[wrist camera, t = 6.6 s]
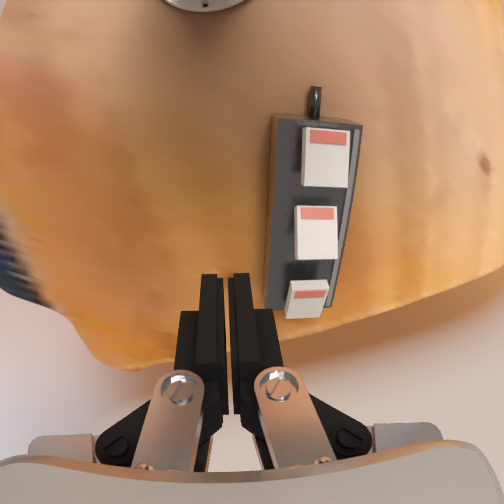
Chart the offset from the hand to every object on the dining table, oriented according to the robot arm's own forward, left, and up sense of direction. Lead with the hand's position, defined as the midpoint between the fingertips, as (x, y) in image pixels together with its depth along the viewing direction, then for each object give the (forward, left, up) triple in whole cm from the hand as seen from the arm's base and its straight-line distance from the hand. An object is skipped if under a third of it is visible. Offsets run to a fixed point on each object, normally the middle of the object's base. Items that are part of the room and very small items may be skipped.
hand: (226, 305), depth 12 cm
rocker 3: (+17, +10, -21) cm, 29 cm away
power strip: (+6, +10, -27) cm, 29 cm away
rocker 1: (0, +10, -21) cm, 23 cm away
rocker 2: (+8, +10, -21) cm, 25 cm away
